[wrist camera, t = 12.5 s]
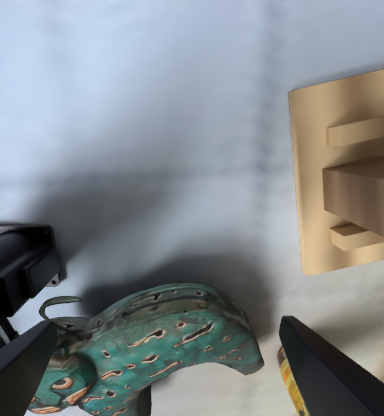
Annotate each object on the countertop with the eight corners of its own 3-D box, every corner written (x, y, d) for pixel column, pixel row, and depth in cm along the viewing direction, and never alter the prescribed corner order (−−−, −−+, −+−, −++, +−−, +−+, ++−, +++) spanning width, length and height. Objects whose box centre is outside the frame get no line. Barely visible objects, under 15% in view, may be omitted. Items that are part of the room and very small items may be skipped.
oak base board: (301, 270, 23) (319, 288, 21) (288, 92, 18) (308, 83, 15) (386, 251, 23) (415, 266, 21) (397, 67, 18) (438, 53, 15)
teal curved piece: (113, 452, 23) (-75, 387, 14) (120, 383, 29) (-9, 302, 19) (279, 380, 22) (202, 252, 12) (253, 322, 28) (186, 203, 18)
